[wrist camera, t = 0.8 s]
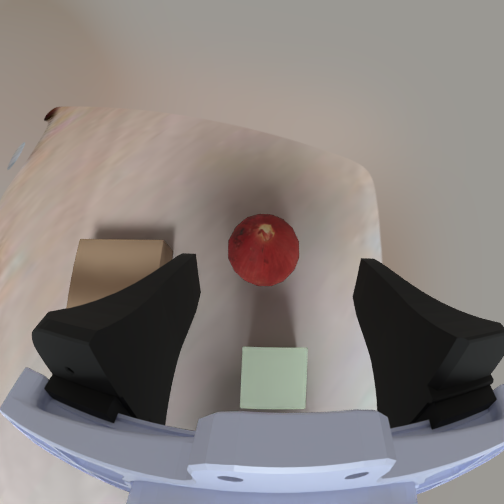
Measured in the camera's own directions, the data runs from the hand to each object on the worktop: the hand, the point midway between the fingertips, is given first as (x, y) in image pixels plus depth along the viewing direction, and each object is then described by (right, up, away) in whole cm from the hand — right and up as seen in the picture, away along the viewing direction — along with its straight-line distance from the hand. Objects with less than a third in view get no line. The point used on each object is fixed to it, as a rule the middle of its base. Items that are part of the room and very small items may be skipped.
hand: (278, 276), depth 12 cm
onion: (0, 0, +14) cm, 14 cm away
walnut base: (-14, -3, +13) cm, 20 cm away
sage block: (+1, -10, +11) cm, 14 cm away
